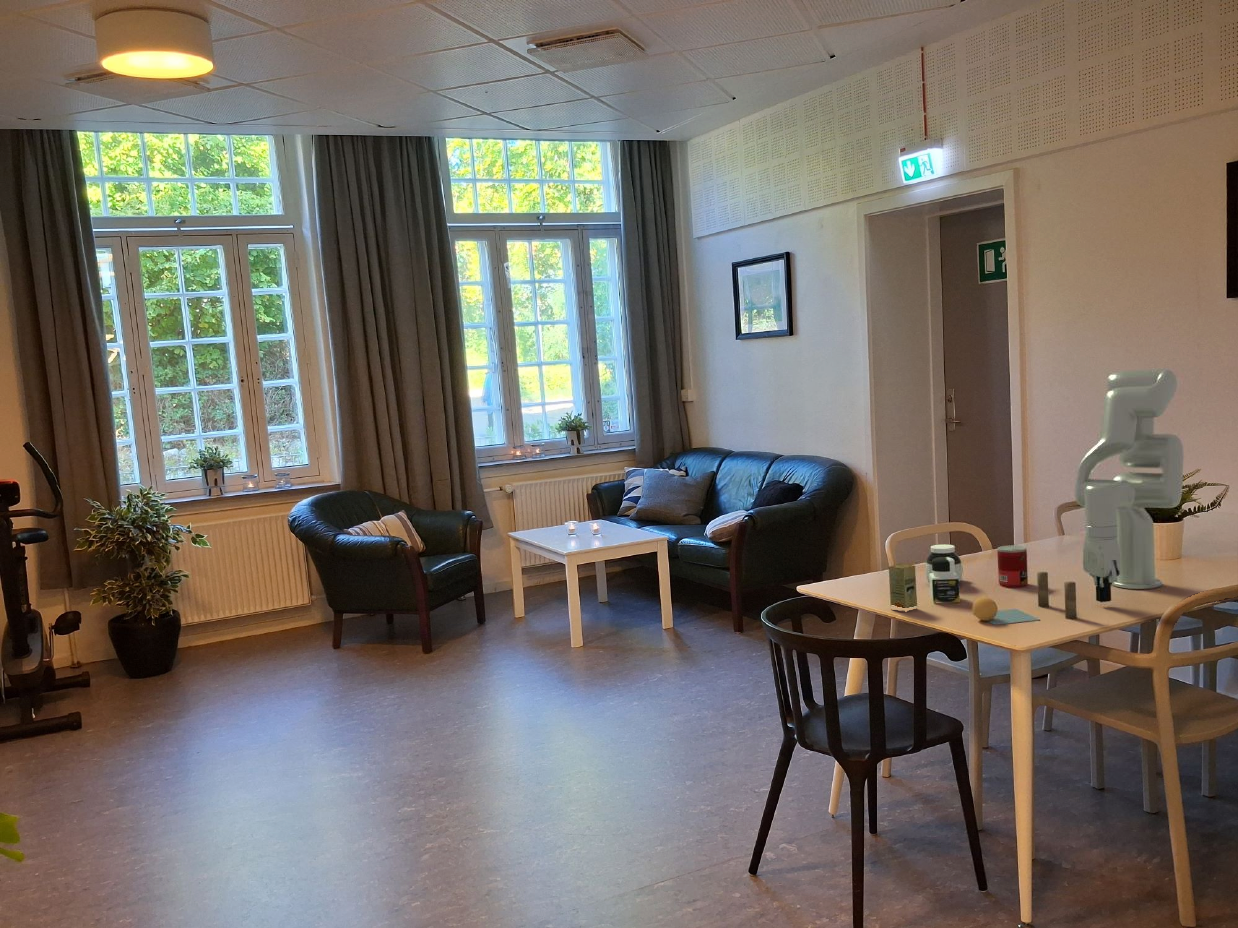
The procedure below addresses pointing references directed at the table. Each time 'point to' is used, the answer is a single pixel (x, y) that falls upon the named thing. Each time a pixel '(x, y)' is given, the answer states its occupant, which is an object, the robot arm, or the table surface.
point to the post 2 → (1070, 600)
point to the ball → (985, 609)
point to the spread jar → (944, 552)
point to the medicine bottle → (944, 581)
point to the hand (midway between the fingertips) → (1103, 600)
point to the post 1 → (1042, 589)
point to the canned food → (1012, 566)
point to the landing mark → (1011, 617)
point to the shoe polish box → (902, 585)
